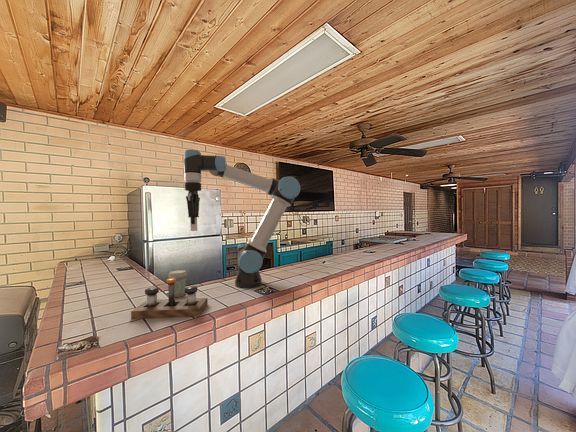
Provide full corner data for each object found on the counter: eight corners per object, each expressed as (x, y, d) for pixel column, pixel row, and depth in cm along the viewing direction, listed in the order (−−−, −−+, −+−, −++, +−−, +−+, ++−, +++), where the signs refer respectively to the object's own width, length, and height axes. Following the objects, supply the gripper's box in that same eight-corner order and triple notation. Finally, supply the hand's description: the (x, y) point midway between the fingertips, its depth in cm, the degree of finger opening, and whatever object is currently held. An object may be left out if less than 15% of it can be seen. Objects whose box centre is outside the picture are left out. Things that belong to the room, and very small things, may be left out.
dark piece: (177, 302, 101) (177, 278, 101) (174, 305, 98) (173, 280, 97) (169, 302, 101) (168, 278, 101) (165, 305, 97) (165, 280, 97)
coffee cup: (164, 297, 116) (164, 272, 116) (179, 291, 124) (179, 268, 123) (176, 299, 112) (175, 274, 112) (191, 294, 120) (190, 270, 119)
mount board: (207, 304, 106) (207, 297, 106) (199, 316, 94) (198, 308, 94) (147, 306, 104) (147, 299, 104) (131, 318, 92) (131, 311, 92)
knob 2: (199, 307, 102) (198, 285, 102) (195, 312, 97) (195, 289, 97) (187, 308, 102) (187, 286, 102) (183, 313, 97) (182, 289, 97)
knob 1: (161, 309, 101) (160, 286, 101) (155, 314, 96) (154, 290, 96) (149, 309, 101) (148, 287, 101) (142, 314, 96) (142, 291, 96)
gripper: (189, 184, 122) (190, 229, 122) (179, 180, 109) (180, 232, 109) (204, 184, 122) (205, 229, 123) (196, 180, 109) (197, 231, 110)
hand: (194, 230), depth 116 cm, fingers closed
